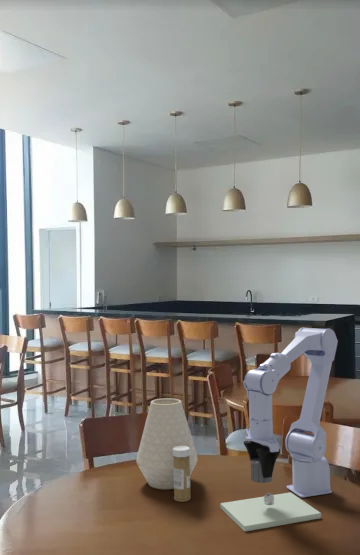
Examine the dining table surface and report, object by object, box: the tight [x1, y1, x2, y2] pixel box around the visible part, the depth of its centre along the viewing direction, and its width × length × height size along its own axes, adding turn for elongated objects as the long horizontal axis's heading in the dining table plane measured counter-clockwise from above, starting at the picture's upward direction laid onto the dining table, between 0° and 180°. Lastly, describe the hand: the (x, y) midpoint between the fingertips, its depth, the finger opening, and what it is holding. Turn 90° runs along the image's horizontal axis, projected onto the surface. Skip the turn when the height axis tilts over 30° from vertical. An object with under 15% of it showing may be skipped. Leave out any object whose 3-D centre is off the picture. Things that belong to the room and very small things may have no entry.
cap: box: [250, 458, 273, 484], centre depth 134 cm, size 5×5×4 cm
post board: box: [219, 491, 322, 532], centre depth 132 cm, size 20×14×5 cm
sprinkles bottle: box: [173, 446, 192, 503], centre depth 142 cm, size 5×5×14 cm
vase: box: [136, 397, 199, 491], centre depth 154 cm, size 17×17×23 cm
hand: (262, 473), depth 134 cm, fingers closed on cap, 5 cm apart
